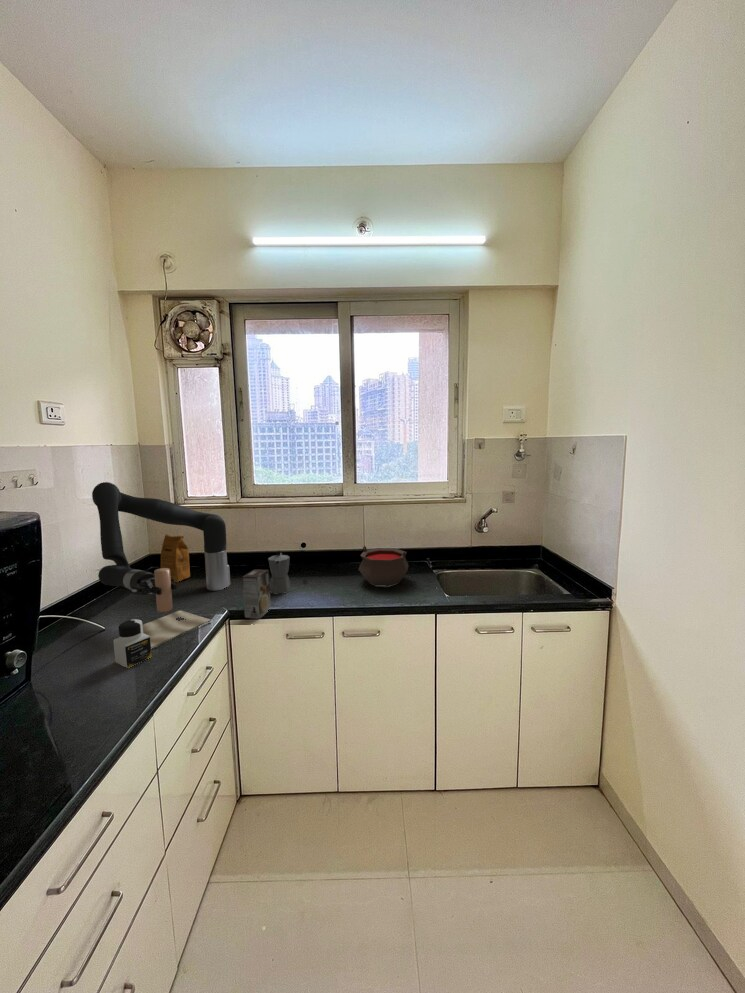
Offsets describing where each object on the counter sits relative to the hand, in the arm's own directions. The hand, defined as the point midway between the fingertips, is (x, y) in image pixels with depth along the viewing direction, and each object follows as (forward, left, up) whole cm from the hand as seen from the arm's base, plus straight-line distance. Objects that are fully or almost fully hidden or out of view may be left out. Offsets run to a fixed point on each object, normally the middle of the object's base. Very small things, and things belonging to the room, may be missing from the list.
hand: (168, 589), depth 134 cm
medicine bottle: (+17, +7, -15) cm, 24 cm away
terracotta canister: (0, -3, -8) cm, 8 cm away
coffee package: (-35, -51, -15) cm, 63 cm away
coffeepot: (-48, +5, -15) cm, 51 cm away
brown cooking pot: (-78, +41, -15) cm, 90 cm away
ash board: (0, -3, -15) cm, 15 cm away
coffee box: (-25, +15, -15) cm, 33 cm away
